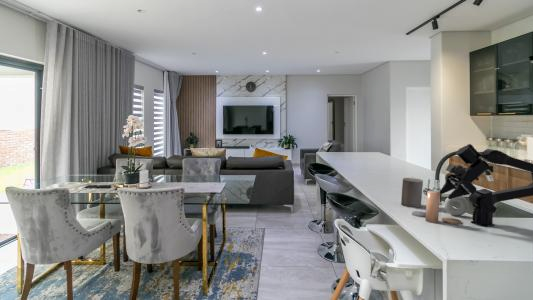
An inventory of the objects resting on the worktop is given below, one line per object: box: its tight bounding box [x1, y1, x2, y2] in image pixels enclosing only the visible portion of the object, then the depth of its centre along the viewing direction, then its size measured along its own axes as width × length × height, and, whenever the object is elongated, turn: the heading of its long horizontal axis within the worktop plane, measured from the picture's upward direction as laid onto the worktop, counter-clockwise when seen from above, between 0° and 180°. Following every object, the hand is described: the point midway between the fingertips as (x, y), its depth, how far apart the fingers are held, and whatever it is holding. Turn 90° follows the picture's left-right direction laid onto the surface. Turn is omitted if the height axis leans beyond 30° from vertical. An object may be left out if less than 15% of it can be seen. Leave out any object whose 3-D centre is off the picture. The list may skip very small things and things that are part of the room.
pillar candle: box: [400, 176, 424, 209], centre depth 169 cm, size 10×10×15 cm
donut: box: [443, 196, 470, 217], centre depth 152 cm, size 10×4×10 cm, turn 68°
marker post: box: [425, 190, 441, 224], centre depth 143 cm, size 5×5×13 cm
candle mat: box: [411, 210, 426, 218], centre depth 153 cm, size 8×8×1 cm
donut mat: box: [440, 217, 462, 225], centre depth 143 cm, size 8×8×1 cm
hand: (444, 195), depth 142 cm, fingers open, 9 cm apart
